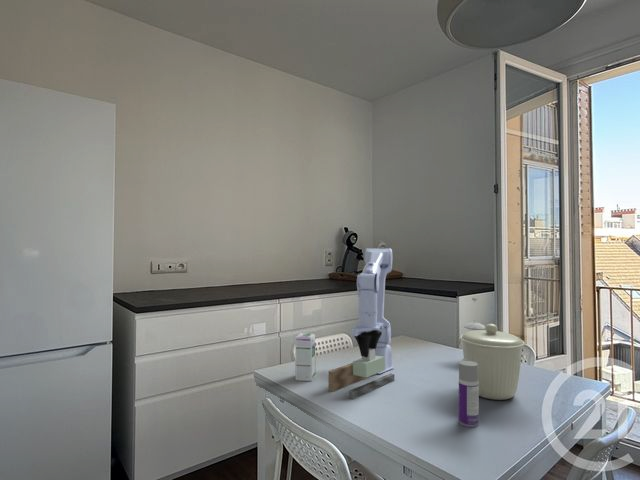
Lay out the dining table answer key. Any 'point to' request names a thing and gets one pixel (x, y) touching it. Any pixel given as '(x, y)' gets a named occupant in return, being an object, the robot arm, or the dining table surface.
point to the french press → (474, 324)
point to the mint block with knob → (369, 364)
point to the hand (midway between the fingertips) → (367, 355)
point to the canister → (494, 360)
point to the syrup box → (305, 357)
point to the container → (468, 394)
